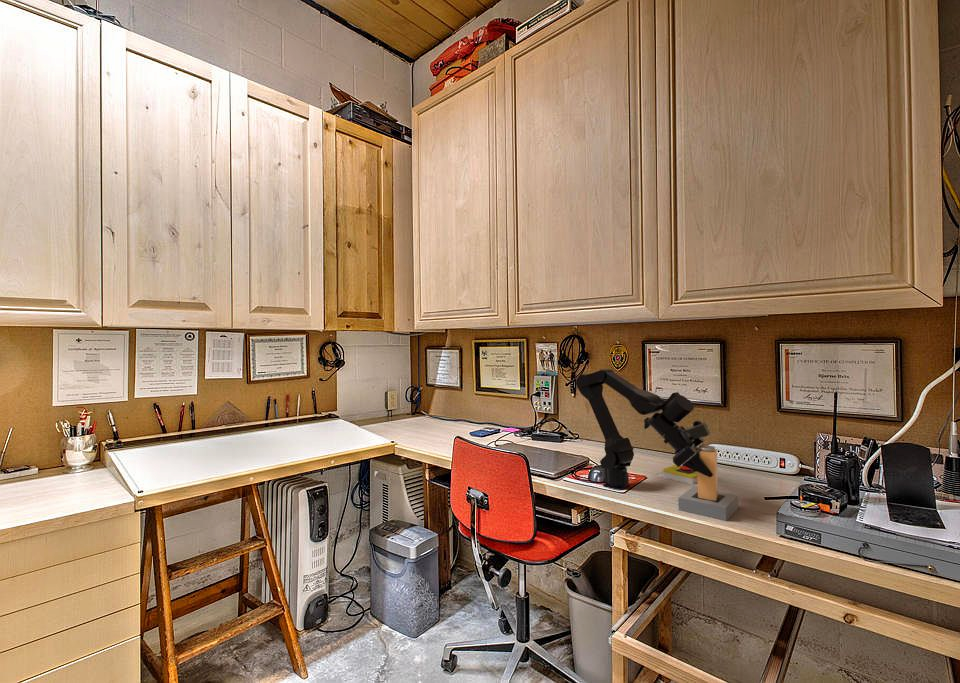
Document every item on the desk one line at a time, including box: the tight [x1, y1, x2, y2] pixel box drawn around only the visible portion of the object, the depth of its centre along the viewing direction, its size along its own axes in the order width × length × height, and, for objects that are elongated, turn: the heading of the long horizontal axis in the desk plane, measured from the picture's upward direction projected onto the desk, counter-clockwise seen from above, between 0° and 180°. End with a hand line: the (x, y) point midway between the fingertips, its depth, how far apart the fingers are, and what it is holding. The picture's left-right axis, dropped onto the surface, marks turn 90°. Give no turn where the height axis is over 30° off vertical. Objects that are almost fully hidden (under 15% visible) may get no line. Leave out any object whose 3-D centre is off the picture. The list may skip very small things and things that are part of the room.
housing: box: [677, 486, 739, 522], centre depth 126 cm, size 12×12×4 cm
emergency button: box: [656, 464, 698, 487], centre depth 154 cm, size 9×4×15 cm
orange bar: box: [697, 444, 719, 501], centre depth 126 cm, size 4×4×14 cm
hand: (712, 473), depth 125 cm, fingers closed on orange bar, 4 cm apart
